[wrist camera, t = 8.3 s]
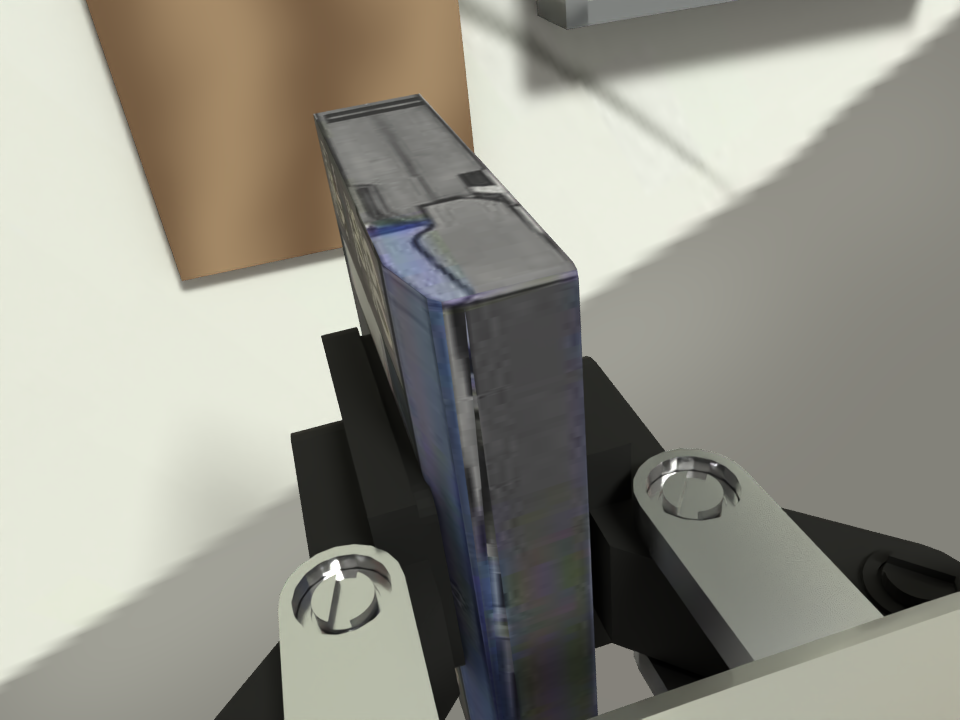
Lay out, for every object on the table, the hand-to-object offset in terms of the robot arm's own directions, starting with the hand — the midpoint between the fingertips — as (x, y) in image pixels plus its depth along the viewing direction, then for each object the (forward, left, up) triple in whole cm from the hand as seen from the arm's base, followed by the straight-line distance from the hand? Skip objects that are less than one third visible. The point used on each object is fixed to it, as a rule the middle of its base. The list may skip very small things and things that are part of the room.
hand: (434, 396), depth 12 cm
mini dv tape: (0, 0, -2) cm, 2 cm away
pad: (0, 0, -21) cm, 21 cm away
